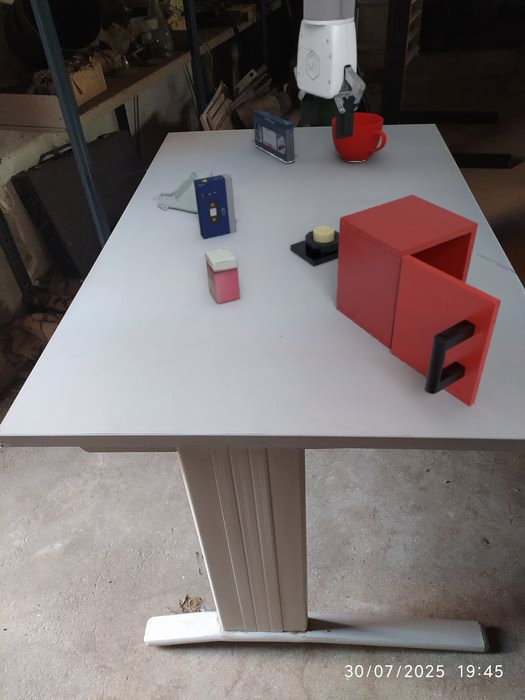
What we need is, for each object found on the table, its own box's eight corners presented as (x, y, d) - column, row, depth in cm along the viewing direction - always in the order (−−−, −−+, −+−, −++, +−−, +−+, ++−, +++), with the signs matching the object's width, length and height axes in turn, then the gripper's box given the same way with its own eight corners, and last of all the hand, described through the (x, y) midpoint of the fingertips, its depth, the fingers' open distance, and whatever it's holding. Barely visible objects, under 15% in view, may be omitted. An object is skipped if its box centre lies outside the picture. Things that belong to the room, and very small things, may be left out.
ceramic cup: (363, 175, 134) (365, 133, 128) (320, 158, 145) (321, 119, 139) (401, 163, 139) (405, 122, 133) (357, 147, 150) (359, 109, 144)
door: (438, 426, 66) (460, 322, 57) (360, 368, 76) (368, 270, 66) (474, 403, 69) (501, 300, 60) (395, 350, 79) (407, 253, 69)
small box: (208, 290, 95) (203, 250, 90) (232, 285, 96) (228, 245, 91) (217, 305, 91) (212, 263, 86) (241, 299, 92) (237, 257, 87)
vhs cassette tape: (254, 146, 156) (252, 110, 150) (263, 144, 157) (261, 108, 151) (285, 165, 143) (284, 125, 136) (295, 162, 144) (294, 123, 137)
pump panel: (331, 236, 109) (332, 222, 107) (356, 251, 103) (357, 237, 101) (290, 250, 105) (289, 236, 103) (313, 267, 99) (314, 252, 97)
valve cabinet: (458, 318, 84) (478, 223, 74) (389, 349, 79) (401, 251, 69) (401, 283, 93) (412, 194, 83) (336, 309, 88) (339, 217, 78)
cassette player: (203, 239, 110) (196, 182, 103) (200, 235, 112) (192, 178, 105) (237, 232, 112) (232, 175, 105) (233, 227, 114) (228, 171, 107)
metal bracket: (184, 163, 130) (237, 172, 123) (192, 184, 134) (243, 193, 128) (151, 201, 123) (205, 211, 117) (160, 221, 128) (212, 232, 121)
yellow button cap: (325, 232, 105) (326, 223, 103) (338, 239, 102) (338, 231, 101) (308, 237, 103) (308, 229, 102) (321, 245, 100) (321, 237, 99)
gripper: (276, 8, 84) (279, 123, 94) (344, 18, 72) (339, 148, 82) (315, 3, 87) (314, 115, 97) (387, 11, 75) (377, 138, 85)
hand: (326, 130), depth 90 cm, fingers open, 9 cm apart
